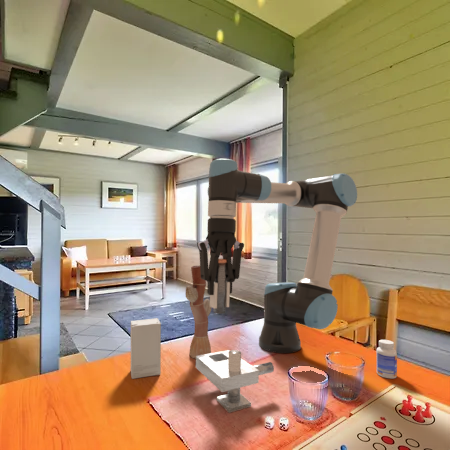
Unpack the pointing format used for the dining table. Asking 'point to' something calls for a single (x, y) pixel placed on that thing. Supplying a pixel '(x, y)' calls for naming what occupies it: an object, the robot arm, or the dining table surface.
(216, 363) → the square pedestal tray
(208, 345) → the tan tall irregular piece
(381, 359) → the pill bottle
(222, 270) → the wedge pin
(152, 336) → the skincare box
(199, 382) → the dining table surface
